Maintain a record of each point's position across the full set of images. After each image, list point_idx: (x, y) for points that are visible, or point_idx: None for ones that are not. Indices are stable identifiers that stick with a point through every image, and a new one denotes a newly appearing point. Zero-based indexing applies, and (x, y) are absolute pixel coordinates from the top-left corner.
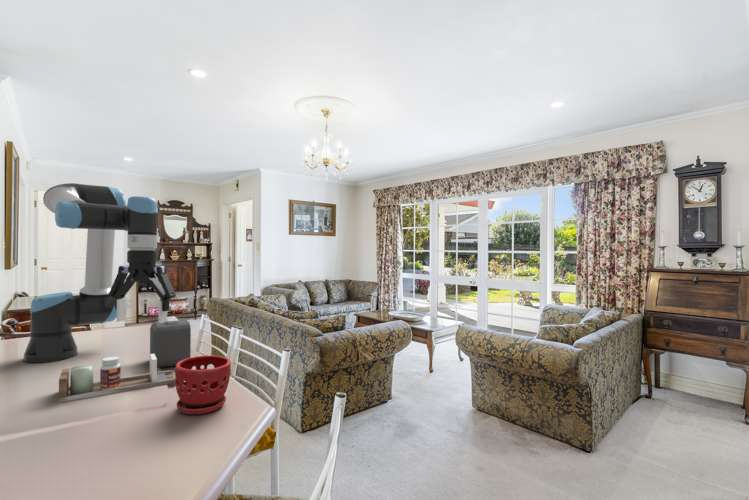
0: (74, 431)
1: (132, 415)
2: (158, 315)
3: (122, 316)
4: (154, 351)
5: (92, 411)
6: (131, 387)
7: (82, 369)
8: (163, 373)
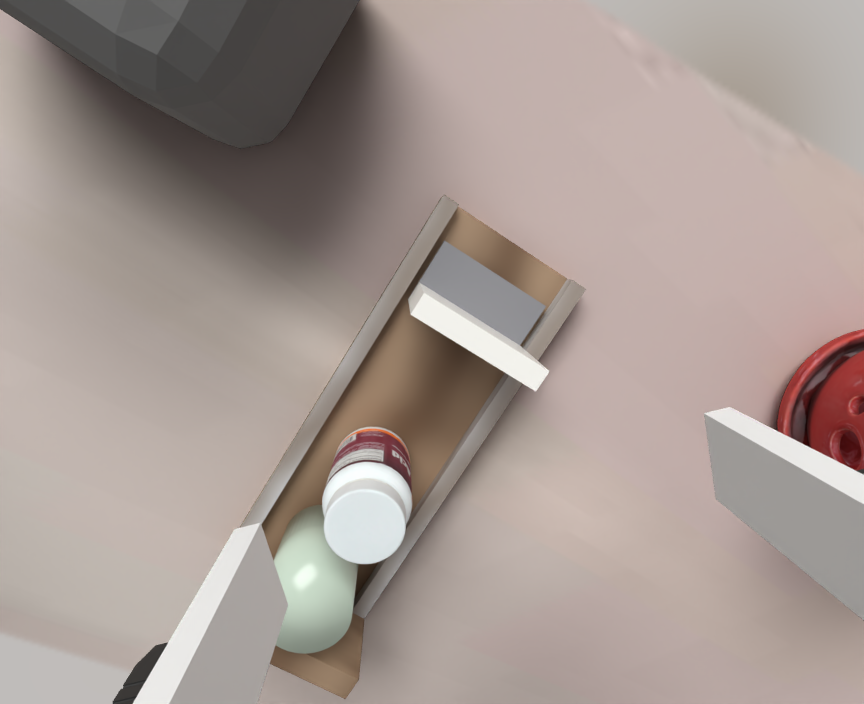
0: (601, 681)
1: (665, 550)
2: (769, 539)
3: (263, 595)
4: (224, 136)
5: (508, 587)
6: (482, 441)
7: (344, 628)
8: (448, 249)
